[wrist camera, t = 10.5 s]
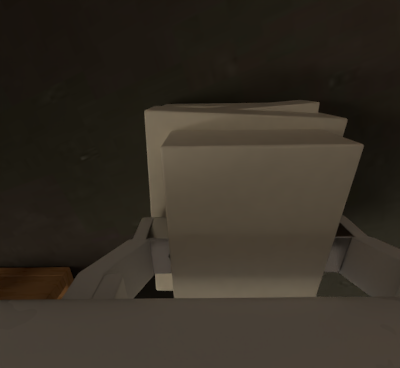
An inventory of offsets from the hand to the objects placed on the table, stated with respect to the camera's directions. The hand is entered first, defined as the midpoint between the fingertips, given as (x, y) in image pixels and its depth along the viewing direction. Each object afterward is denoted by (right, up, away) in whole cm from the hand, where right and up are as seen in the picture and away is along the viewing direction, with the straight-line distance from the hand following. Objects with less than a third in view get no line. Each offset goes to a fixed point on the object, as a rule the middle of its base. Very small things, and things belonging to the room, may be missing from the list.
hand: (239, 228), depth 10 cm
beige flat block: (0, 0, 0) cm, 0 cm away
